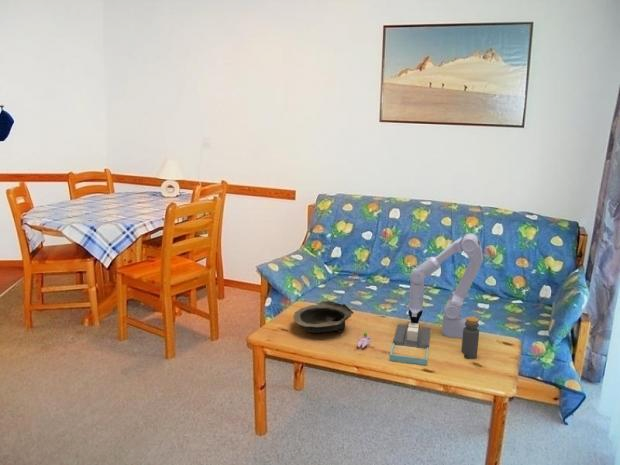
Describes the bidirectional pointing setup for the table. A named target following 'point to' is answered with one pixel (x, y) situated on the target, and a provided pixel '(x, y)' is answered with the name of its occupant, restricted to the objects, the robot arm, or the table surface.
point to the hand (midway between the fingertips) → (414, 327)
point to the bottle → (470, 338)
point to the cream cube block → (414, 325)
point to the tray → (408, 358)
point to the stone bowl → (323, 317)
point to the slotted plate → (420, 343)
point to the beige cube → (412, 334)
